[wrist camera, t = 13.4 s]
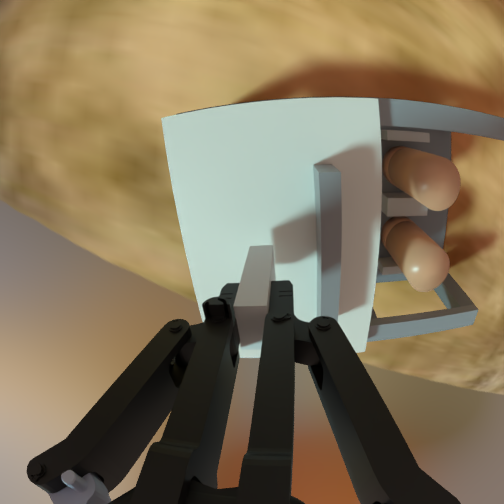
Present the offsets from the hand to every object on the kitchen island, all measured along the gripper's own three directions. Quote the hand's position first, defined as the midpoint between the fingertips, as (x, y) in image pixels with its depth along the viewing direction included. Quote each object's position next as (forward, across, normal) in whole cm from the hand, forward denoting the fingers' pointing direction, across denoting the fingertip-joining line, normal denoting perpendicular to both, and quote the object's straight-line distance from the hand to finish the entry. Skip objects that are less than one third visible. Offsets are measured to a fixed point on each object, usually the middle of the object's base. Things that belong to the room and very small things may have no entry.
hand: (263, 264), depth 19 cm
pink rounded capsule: (+13, +15, +4) cm, 20 cm away
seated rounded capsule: (+13, +15, -4) cm, 20 cm away
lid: (+3, +1, 0) cm, 3 cm away
